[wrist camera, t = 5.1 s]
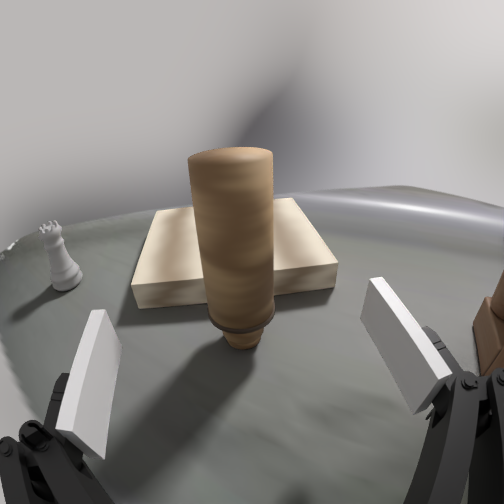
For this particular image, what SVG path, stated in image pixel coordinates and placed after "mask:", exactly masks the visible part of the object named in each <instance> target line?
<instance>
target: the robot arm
mask: <svg viewBox="0 0 504 504" xmlns="http://www.w3.org/2000/svg"><path fill="white" fill-rule="evenodd" d="M360 319H361V321H362V323H363V324H364V326H365V328H366V330H367V331H368V333H369V335H370V336H371V338H372V340H373V342H374V343H375V345H376V347H377V349H378V350H379V352H380V354H381V356H382V358H383V359H384V361H385V363H386V365H387V367H388V368H389V370H390V372H391V374H392V376H393V378H394V379H395V381H396V383H397V385H398V387H399V389H400V391H401V393H402V394H403V396H404V398H405V400H406V402H407V404H408V406H409V408H410V410H411V412H412V414H413V415H414V414H416V413H419V412H421V411H423V410H426V409H427V408H428V406H429V405H430V404H431V402H432V403H433V405H434V408H433V409H432V410H431V412H430V413H429V414H428V415H427V417H426V419H425V420H428V419H429V418H430V416H431V418H430V422H429V427H428V430H427V434H426V438H425V442H424V445H423V449H422V452H421V456H420V459H419V462H418V465H417V468H416V471H415V474H414V477H413V480H412V483H411V485H410V488H409V491H408V493H407V496H406V498H405V501H404V503H403V504H460V503H461V499H462V496H463V492H464V489H465V485H466V481H467V477H468V472H469V489H468V504H504V368H496V369H495V370H493V372H492V373H491V374H490V375H489V376H481V377H477V376H476V375H474V374H473V373H471V372H467V371H463V370H462V369H461V367H460V366H459V364H458V363H457V361H456V360H455V358H454V357H453V356H452V354H451V353H450V351H449V350H448V349H447V348H446V346H445V344H444V343H443V342H442V341H441V339H440V337H439V336H438V335H437V333H436V332H435V331H433V330H432V329H431V328H429V327H428V326H426V327H423V328H421V327H420V326H419V324H418V323H417V322H416V320H415V319H414V318H413V316H412V315H411V314H410V312H409V311H408V310H407V308H406V307H405V306H404V304H403V303H402V302H401V300H400V299H399V298H398V296H397V295H396V294H395V293H394V291H393V290H392V289H391V287H390V286H389V285H388V284H387V282H386V281H385V280H384V279H383V277H378V278H372V279H369V284H368V288H367V292H366V297H365V301H364V305H363V309H362V313H361V317H360ZM122 348H123V347H122V345H121V343H120V341H119V339H118V337H117V335H116V333H115V330H114V328H113V326H112V324H111V321H110V319H109V317H108V315H107V312H106V310H105V309H103V310H92V311H91V314H90V316H89V319H88V322H87V324H86V327H85V330H84V333H83V336H82V338H81V341H80V344H79V347H78V350H77V353H76V356H75V359H74V362H73V365H72V369H71V372H70V373H62V374H61V375H60V377H59V378H58V379H57V381H56V383H55V386H54V389H53V393H52V396H51V401H50V403H49V406H48V410H47V414H46V417H45V421H44V425H42V424H41V423H40V422H38V421H36V420H29V421H27V422H25V423H24V424H23V425H22V427H21V428H20V430H19V440H20V442H17V441H16V440H14V439H13V438H11V437H9V436H7V437H3V438H1V440H0V477H1V482H2V488H3V492H4V497H5V501H6V504H114V502H113V501H112V500H111V498H110V497H109V496H108V494H107V493H106V492H105V490H104V489H103V488H102V486H101V485H100V484H99V482H98V481H97V479H96V478H95V476H94V475H93V473H92V472H91V470H90V469H89V467H88V466H87V464H86V463H85V461H84V460H83V459H82V456H83V453H84V454H85V455H86V456H88V457H89V458H95V459H103V460H105V452H106V443H107V435H108V427H109V420H110V413H111V406H112V400H113V394H114V388H115V383H116V377H117V372H118V367H119V362H120V357H121V352H122Z"/></svg>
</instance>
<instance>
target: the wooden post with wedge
mask: <svg viewBox="0 0 504 504" xmlns="http://www.w3.org/2000/svg"><path fill="white" fill-rule="evenodd" d="M473 327H474V332H475V337H476V343H477V349H478V355H479V362H480V370H481V376H489V375H490V374H491V373H492V372H493V370H495V369H496V368H504V271H503V273H502V276H501V278H500V280H499V283H498V285H497V287H496V290H495V292H494V294H493V296H492V297H485V298H484V301H483V303H482V305H481V307H480V309H479V311H478V313H477V315H476V317H475V319H474V321H473Z"/></svg>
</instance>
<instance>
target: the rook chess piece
mask: <svg viewBox="0 0 504 504" xmlns="http://www.w3.org/2000/svg"><path fill="white" fill-rule="evenodd" d="M61 230H62V227H61V226H59V225H58V223H57V222H56V221H55V220H54V221H53V224H52V223H51V221H49V222H48V226H47V227H46V226H45V224H43V225H42V228H41V227H39V232H40V233H39V237H38V238H39V239H40V240H41V241H43V242H44V245H45V246H44V249H45V250H46V251H47V253H48V257H49V261H50V266H51V269H50V271H51V274H50V280H51V282H52V283H53V285H52V286H53V287H54V289H56V290H58V291H68V290H71V289H73V288H75V287H76V286H77V285H78V284H79V283H80V281H81V279H82V272H81V271H80V267H79V266H78V264H77V263H75V262H74V260H73V259H71V258H70V256H69V255H68V253H67V251H66V249H65V246H64V239H63V238H61Z"/></svg>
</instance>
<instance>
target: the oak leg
mask: <svg viewBox="0 0 504 504" xmlns="http://www.w3.org/2000/svg"><path fill="white" fill-rule="evenodd" d="M188 167H189V176H190V185H191V193H192V201H193V209H194V217H195V224H196V231H197V239H198V245H199V252H200V259H201V265H202V272H203V278H204V284H205V290H206V296H207V302H208V316H209V319H210V321H211V322H212V324H213V325H214V326H215V327H217V328H218V329H220V330H222V331H223V335H224V336H225V338H226V339H227V342H228V343H229V345H231V346H232V347H234V348H236V349H241V350H245V349H250V348H253V347H254V346H256V345H257V344H258V343H259V341H260V339H261V335H262V333H263V330H264V327H265V326H266V325H267V324H269V323H270V321H271V320H272V319H273V317H274V313H275V303H274V217H273V154H272V152H271V151H269V150H266V149H260V148H252V147H229V148H220V149H213V150H208V151H203V152H200V153H197V154H194V155H192V156H190V157H189V158H188Z"/></svg>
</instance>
